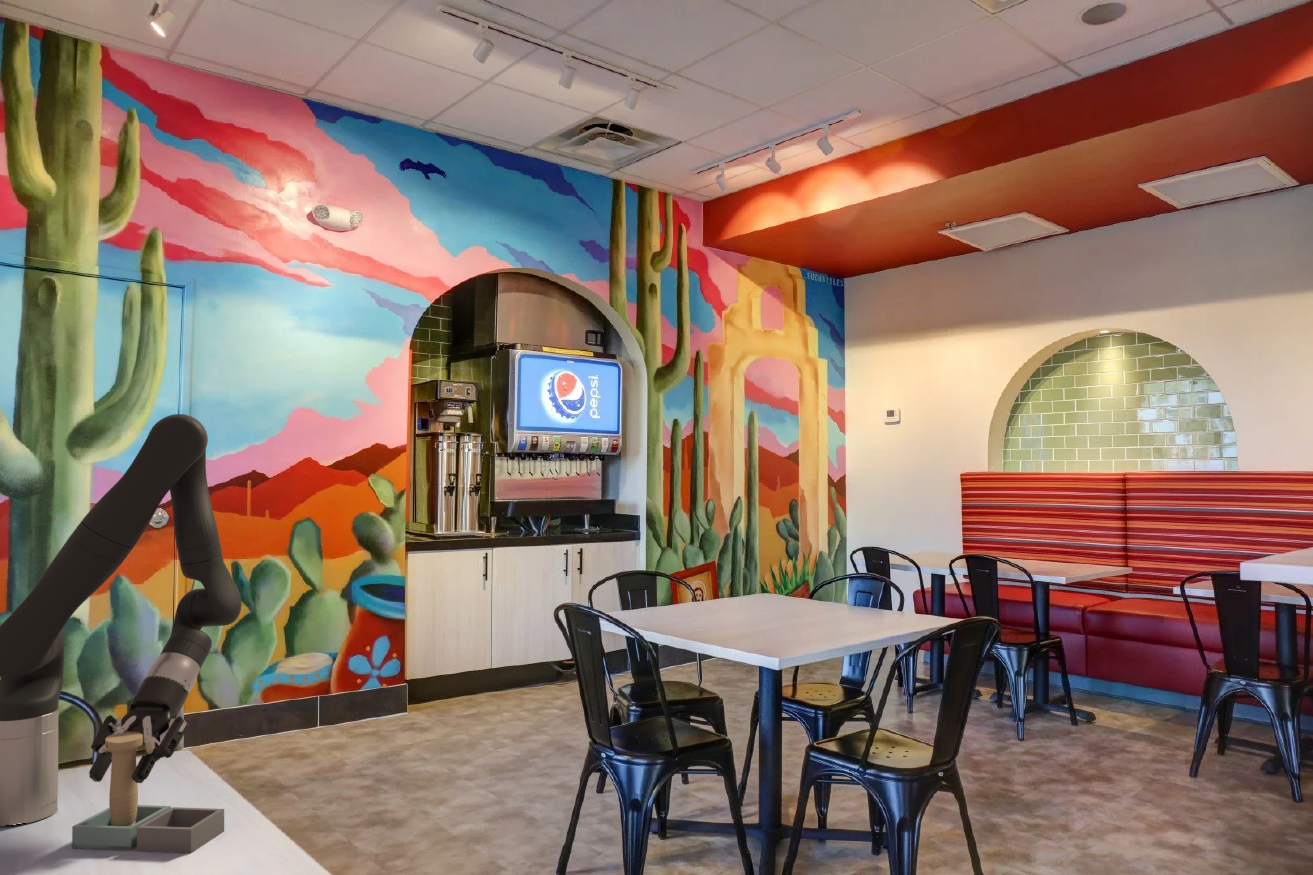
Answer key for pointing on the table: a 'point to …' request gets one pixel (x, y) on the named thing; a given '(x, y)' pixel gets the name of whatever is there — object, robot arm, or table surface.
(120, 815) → the handle
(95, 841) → the parts tray
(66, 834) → the table surface
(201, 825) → the open rectangular frame
